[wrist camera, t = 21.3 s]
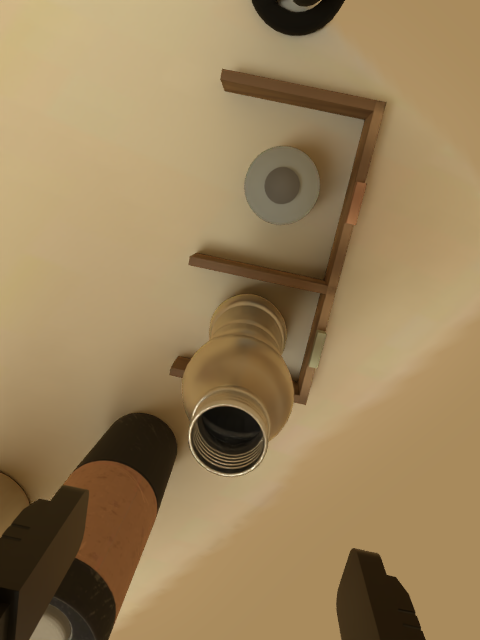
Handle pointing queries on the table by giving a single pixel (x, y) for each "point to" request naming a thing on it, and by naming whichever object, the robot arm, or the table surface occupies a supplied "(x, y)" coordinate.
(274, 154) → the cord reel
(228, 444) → the plastic bottle
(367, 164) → the slot rack
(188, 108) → the table surface
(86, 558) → the travel mug
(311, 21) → the webcam
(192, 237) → the table surface
